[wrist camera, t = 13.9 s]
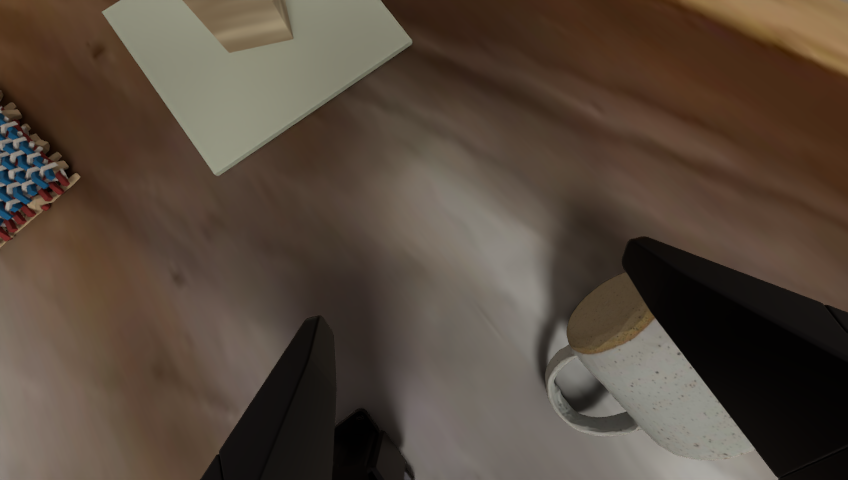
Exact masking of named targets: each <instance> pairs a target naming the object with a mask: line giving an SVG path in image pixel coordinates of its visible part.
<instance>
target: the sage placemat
mask: <svg viewBox="0 0 848 480" xmlns="http://www.w3.org/2000/svg"><path fill="white" fill-rule="evenodd" d="M285 2H286V7H287V11H288V16H289V21H290V25H291V30H292V34H293V39H292V40H287V41H282V42H278V43H273V44H269V45H264V46H259V47H255V48H250V49H245V50H241V51H236V52H232V53H229V52H228V51H227V50H226V49H225V48H224V47H223V45H222V44H221V43H220V42H219V41H218V40H217V39H216V38H215V36H214V35H213V34H212V33H211V32H210V31H209V30H208V29H207V27H206V26H205V25H204V24H203V23H202V22H201V21H200V20H199V18H198V17H197V16H196V15H195V14H194V13H193V12H192V11H191V9H190V8H189V7H188V6H187V5H186V4H185V3H184V2H183V0H120V1H119V2H117V3H115V4H114V5H112V6H110V7H109V8H107V9H106V10H104V11H102V13H103V15H104V16H105V18H106V19H107V20H108V22H109V23H110V25H111V26H112V28H113V29H114V30H115V32H116V33H117V35H118V36H119V38H120V39H121V41H122V42H123V43H124V45H125V46H126V48H127V49H128V51H129V52H130V54H131V55H132V56H133V58H134V59H135V61H136V62H137V64H138V65H139V66H140V68H141V69H142V71H143V72H144V74H145V75H146V77H147V78H148V79H149V81H150V82H151V84H152V85H153V87H154V88H155V90H156V91H157V92H158V94H159V95H160V97H161V98H162V100H163V101H164V102H165V104H166V105H167V107H168V108H169V110H170V111H171V113H172V114H173V115H174V117H175V118H176V120H177V121H178V123H179V124H180V126H181V127H182V128H183V130H184V131H185V133H186V134H187V136H188V137H189V138H190V140H191V141H192V143H193V144H194V146H195V147H196V149H197V150H198V151H199V153H200V154H201V156H202V157H203V159H204V160H205V162H206V163H207V164H208V166H209V167H210V169H211V170H212V172H213V173H214V174H215V175H216V176H219V175H221V174H222V173H224V172H225V171H227V170H228V169H230V168H231V167H233V166H234V165H236V164H237V163H238V162H240V161H241V160H243V159H244V158H246V157H247V156H249V155H250V154H252V153H253V152H255V151H256V150H258V149H259V148H261V147H262V146H263V145H265V144H266V143H268V142H269V141H271V140H272V139H274V138H275V137H277V136H278V135H280V134H281V133H283V132H284V131H285V130H287V129H288V128H290V127H291V126H293V125H294V124H296V123H297V122H299V121H300V120H302V119H303V118H305V117H306V116H307V115H309V114H310V113H312V112H313V111H315V110H316V109H318V108H319V107H321V106H322V105H324V104H325V103H327V102H328V101H329V100H331V99H332V98H334V97H335V96H337V95H338V94H340V93H341V92H343V91H344V90H346V89H347V88H349V87H350V86H352V85H353V84H354V83H356V82H357V81H359V80H360V79H362V78H363V77H365V76H366V75H368V74H369V73H371V72H372V71H374V70H375V69H376V68H378V67H379V66H381V65H382V64H384V63H385V62H387V61H388V60H390V59H391V58H393V57H394V56H396V55H397V54H398V53H400V52H401V51H403V50H404V49H406V48H407V47H409V46H410V45H412V40H411V38H410V37H409V36H408V35H407V33H406V32H405V31H404V29H403V28H402V27H401V26H400V24H399V23H398V22H397V21H396V19H395V18H394V17H393V15H392V14H391V13H390V12H389V10H388V9H387V8H386V7H385V5H384V4H383V3H382V1H381V0H285Z"/></svg>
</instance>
